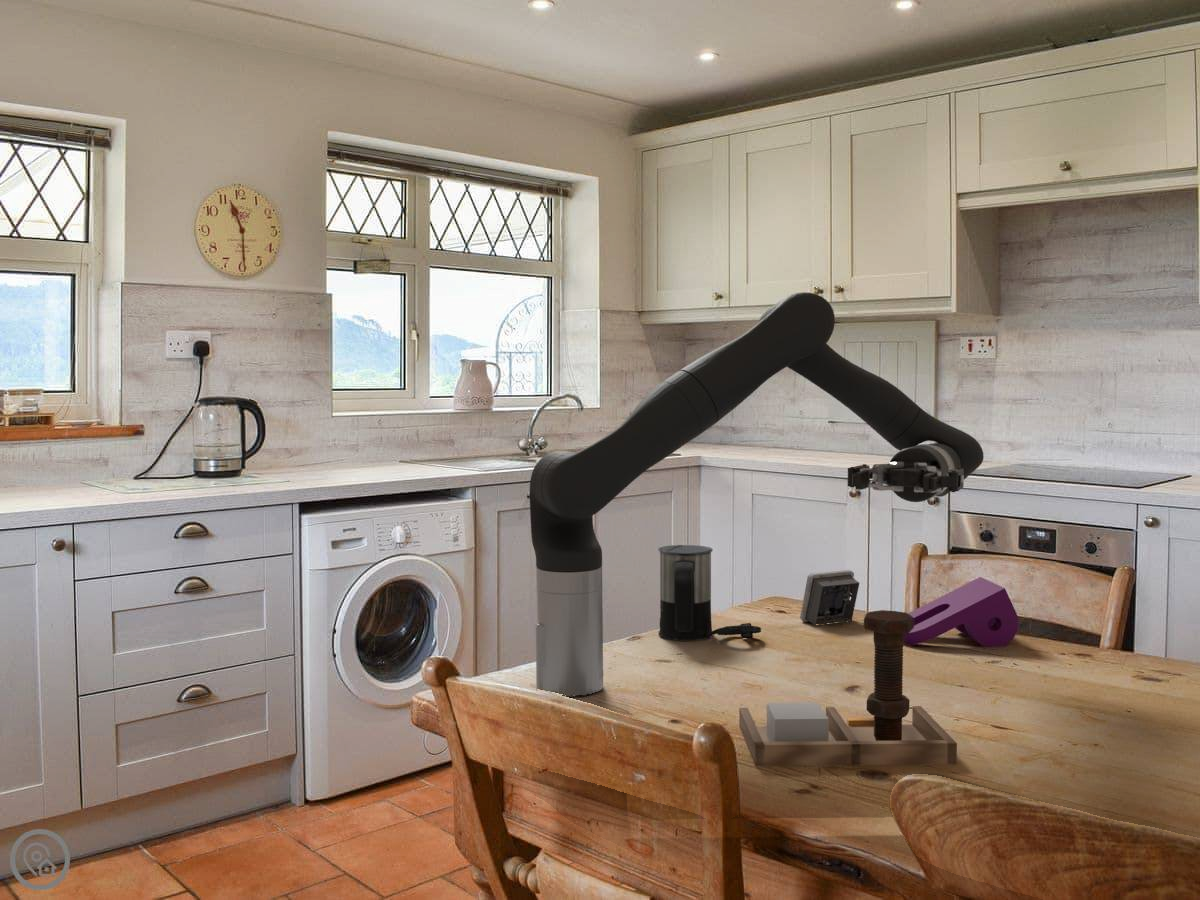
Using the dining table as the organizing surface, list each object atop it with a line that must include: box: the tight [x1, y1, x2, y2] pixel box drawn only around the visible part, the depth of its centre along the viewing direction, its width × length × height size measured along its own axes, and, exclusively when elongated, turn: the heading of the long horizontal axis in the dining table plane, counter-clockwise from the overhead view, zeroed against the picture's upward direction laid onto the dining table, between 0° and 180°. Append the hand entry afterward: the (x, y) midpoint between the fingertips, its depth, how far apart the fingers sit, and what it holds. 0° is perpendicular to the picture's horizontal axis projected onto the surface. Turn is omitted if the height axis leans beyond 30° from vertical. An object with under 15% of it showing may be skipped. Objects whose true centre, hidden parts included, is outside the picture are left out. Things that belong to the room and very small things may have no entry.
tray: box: [738, 705, 958, 767], centre depth 123 cm, size 22×14×4 cm, turn 90°
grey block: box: [766, 701, 829, 742], centre depth 123 cm, size 6×6×4 cm
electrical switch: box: [799, 569, 860, 626], centre depth 187 cm, size 9×5×9 cm, turn 113°
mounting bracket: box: [903, 576, 1020, 648], centre depth 175 cm, size 9×8×18 cm
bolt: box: [863, 609, 914, 741], centre depth 123 cm, size 6×5×15 cm
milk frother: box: [658, 544, 762, 642], centre depth 177 cm, size 14×16×15 cm
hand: (891, 482), depth 134 cm, fingers open, 8 cm apart
